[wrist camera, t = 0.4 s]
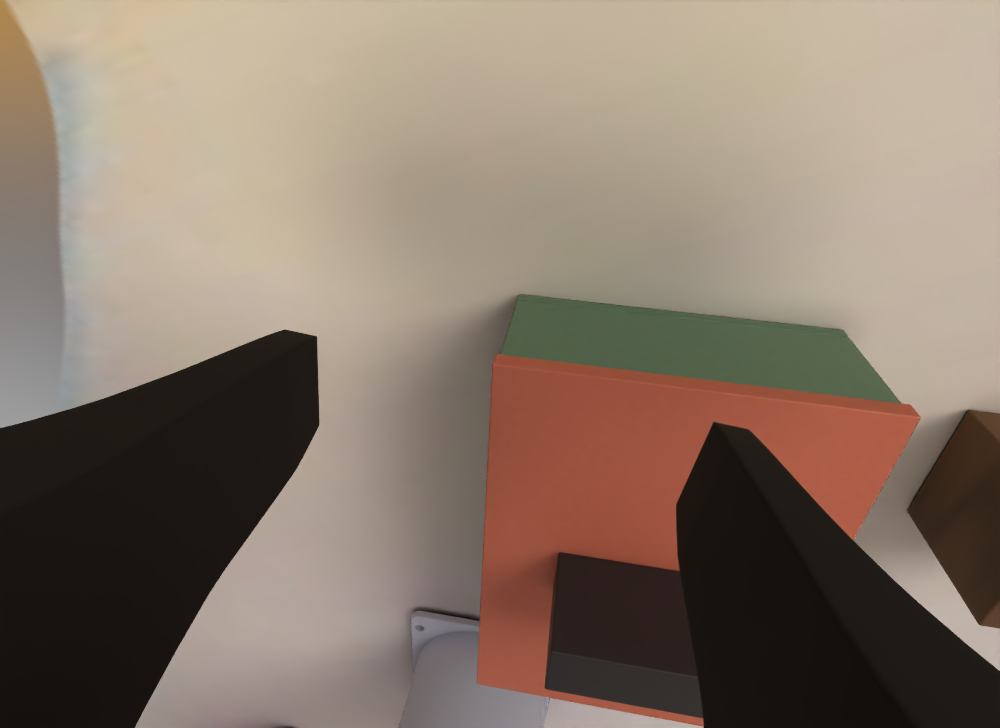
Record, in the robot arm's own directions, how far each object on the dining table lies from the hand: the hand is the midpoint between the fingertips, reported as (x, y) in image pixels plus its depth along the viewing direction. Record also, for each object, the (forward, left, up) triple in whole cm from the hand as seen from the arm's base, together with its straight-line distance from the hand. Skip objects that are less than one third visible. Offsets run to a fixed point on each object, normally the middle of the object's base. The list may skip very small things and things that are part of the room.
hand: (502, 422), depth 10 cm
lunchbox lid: (-10, -5, -6) cm, 12 cm away
